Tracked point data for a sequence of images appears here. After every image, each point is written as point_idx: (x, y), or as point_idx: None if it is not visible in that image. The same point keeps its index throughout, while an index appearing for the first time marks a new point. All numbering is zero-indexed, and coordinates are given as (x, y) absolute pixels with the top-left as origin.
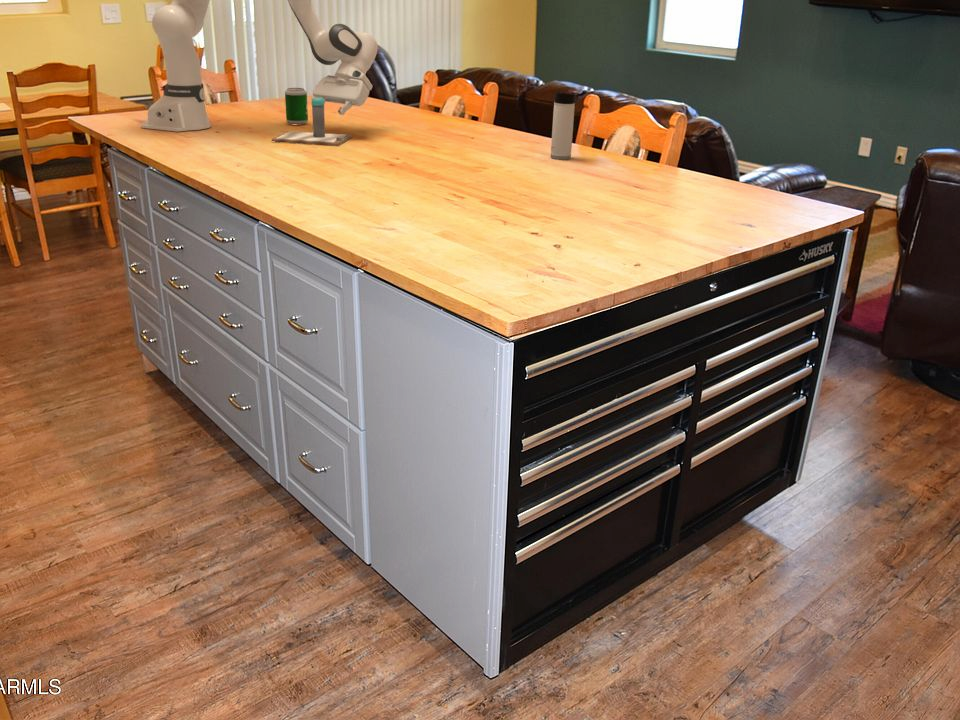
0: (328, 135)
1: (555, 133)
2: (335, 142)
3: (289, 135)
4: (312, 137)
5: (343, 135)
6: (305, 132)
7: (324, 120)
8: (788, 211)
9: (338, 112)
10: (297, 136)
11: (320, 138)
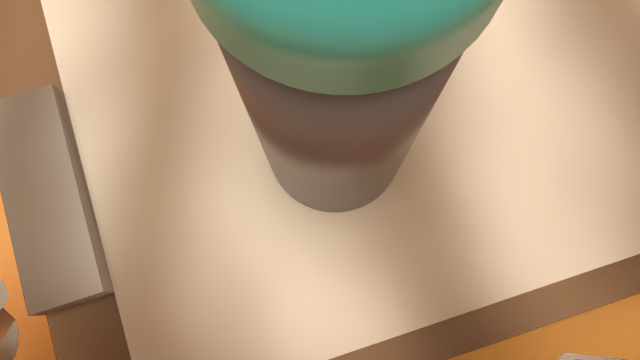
0: (282, 256)
1: None
2: (26, 13)
3: (622, 5)
4: None
5: (42, 232)
6: (615, 250)
7: (254, 126)
8: None
9: (2, 289)
10: (519, 10)
11: None
